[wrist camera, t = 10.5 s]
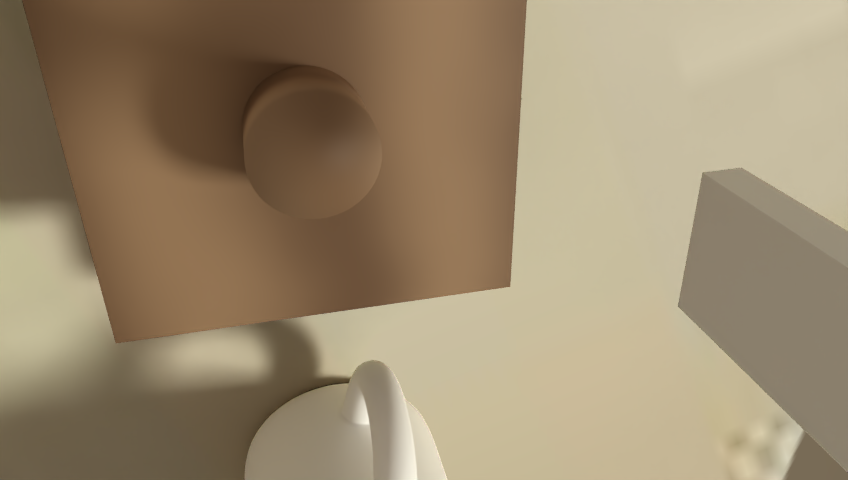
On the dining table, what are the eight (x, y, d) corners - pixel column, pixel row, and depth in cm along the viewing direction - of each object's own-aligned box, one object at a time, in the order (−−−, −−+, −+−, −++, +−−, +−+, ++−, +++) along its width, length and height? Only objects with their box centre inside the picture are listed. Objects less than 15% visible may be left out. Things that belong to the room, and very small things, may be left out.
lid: (130, 275, 22) (105, 392, 17) (30, -129, 17) (-45, -116, 12) (475, 231, 24) (534, 325, 20) (485, -138, 19) (571, -130, 14)
